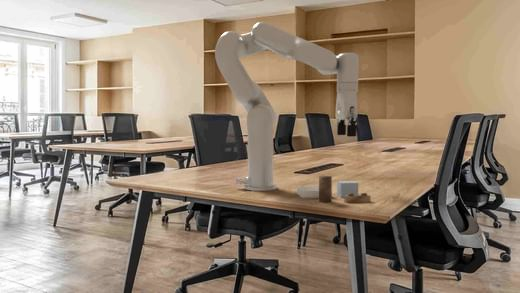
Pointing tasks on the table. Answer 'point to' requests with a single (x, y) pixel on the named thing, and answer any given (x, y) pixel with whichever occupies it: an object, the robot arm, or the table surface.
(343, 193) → the pale blue block
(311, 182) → the table surface
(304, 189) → the tray
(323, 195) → the dowel
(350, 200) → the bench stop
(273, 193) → the table surface
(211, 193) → the table surface
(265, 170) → the robot arm
